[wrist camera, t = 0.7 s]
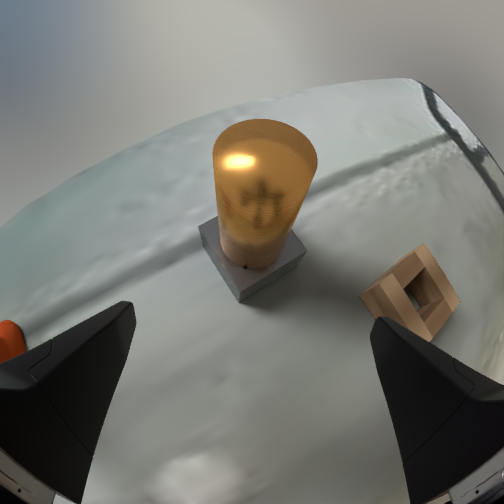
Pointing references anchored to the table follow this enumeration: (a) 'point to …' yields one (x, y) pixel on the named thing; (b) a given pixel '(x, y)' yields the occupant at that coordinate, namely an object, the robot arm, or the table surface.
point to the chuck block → (249, 279)
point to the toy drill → (10, 341)
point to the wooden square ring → (422, 288)
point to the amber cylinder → (260, 187)
